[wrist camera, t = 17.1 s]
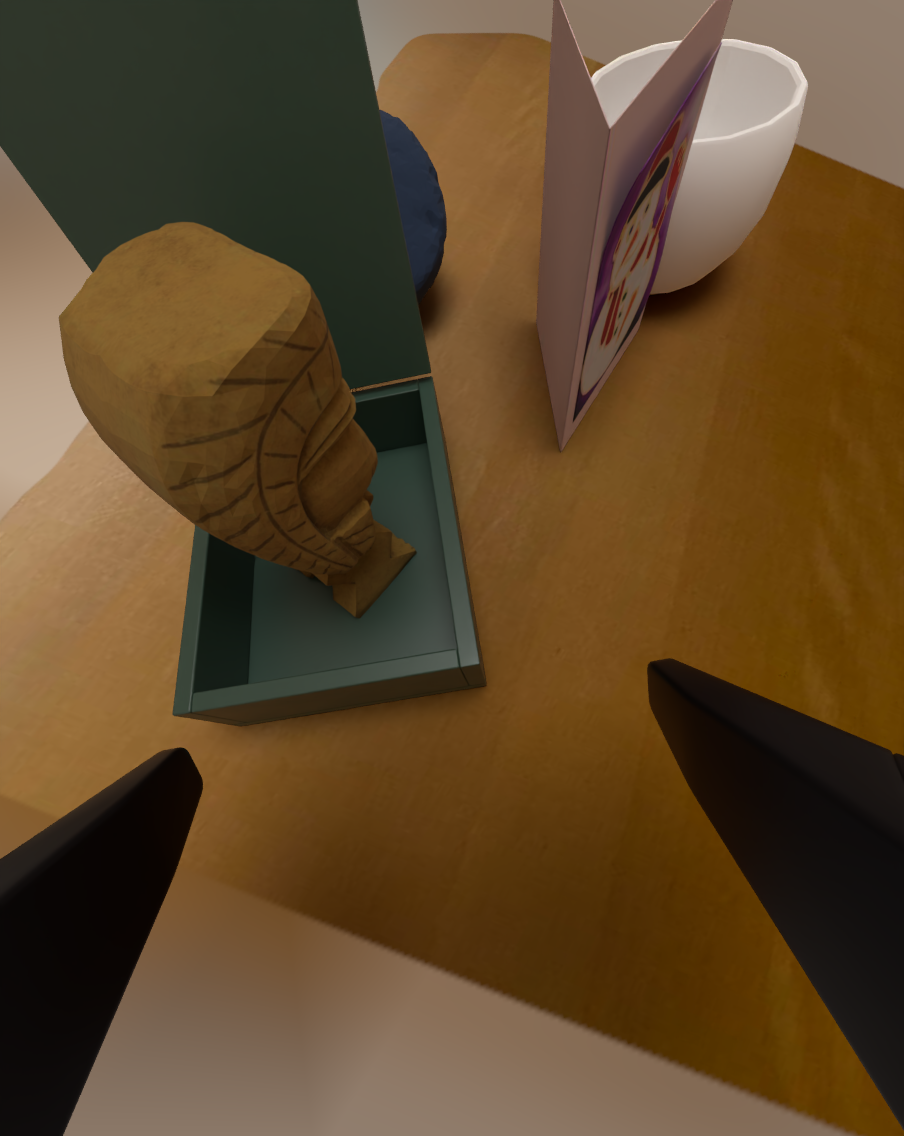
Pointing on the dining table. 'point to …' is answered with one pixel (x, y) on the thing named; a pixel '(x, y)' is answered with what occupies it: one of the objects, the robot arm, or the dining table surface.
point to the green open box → (318, 623)
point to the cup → (718, 149)
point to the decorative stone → (416, 202)
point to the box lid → (220, 146)
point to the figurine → (232, 404)
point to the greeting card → (609, 206)
